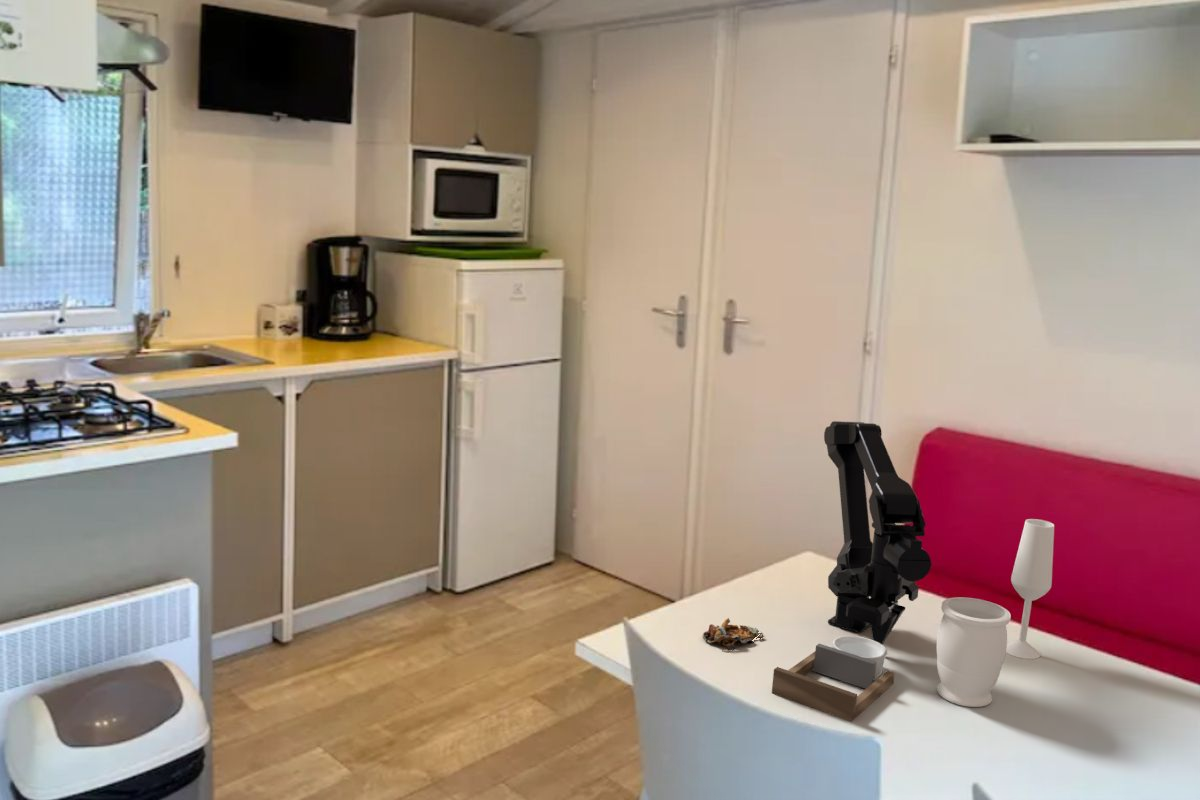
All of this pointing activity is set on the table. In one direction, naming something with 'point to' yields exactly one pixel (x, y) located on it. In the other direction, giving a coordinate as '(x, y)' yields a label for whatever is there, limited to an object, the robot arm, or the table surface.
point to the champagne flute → (1032, 577)
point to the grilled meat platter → (730, 634)
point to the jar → (970, 649)
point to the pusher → (844, 666)
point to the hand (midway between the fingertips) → (877, 645)
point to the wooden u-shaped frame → (826, 690)
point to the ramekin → (863, 649)
